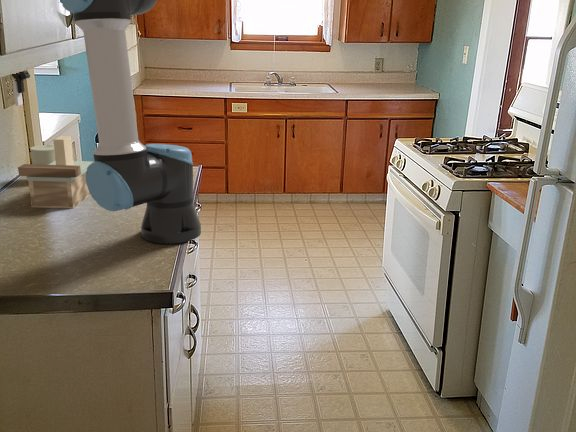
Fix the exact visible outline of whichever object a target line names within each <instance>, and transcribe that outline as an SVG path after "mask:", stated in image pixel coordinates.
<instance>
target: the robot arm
mask: <svg viewBox="0 0 576 432" xmlns="http://www.w3.org/2000/svg"><path fill="white" fill-rule="evenodd" d="M157 2H158V0H60V2H59V3H61V5H62V7H63V8H64V9H65V10H66V11H68V12H69V13H72V15H73V22H74V25H76V26H77V27H78V28H79V29H80V30H81V31H82V32H83V39H84V45H85V46H84V47H85V52H86V59H87V66H88V74H89V80H90V87H91V95H92V102H93V108H94V116H95V123H96V124H95V125H96V131H97V136H98V145H97V146H96V148H95V149H94V151H93V152H92V153H93V159H94V161H92V162H93V163H92V164H90V165H89V166H88V168H87V171H86V175H85V178H86V184H87V187H88V190H89V192H90V196H91V197H92V199H93V200H94V201H95V203H96V204H97V205H98V206H99V207H101V209H104V210H106V211H109V212H117V211H123V210H125V211H126V210H130V209H132V208H134V207H138V206H140V205H144V204H146V208H145V212H144V215H143V218H142V223H141V226H140V233H141V238H142V239H144V240H145V241H148V242H151V243H153V244H154V243H155V244H162V243H164V244H167V245H169V244H171V245H172V244H181V243H186V242H190V241H192V240H193V241H194V240H195V239H197V238H199V237H200V236H201V234H202V226H201V225H202V223H201V221H200V218H199V215H198V213H197V210H196V207H195V205H194V176H193V175H194V167H193V166H194V162H193V154H192V151H191V149H189V148H188V147H185V146H182V145H177V144H166V143H146V144H145V145H144V144H143V143H142V142H141V141H140V140H139V133H138V126H137V124H138V123H137V117H136V108H135V107H136V106H135V101H134V91H133V85H132V76H131V75H132V74H131V67H130V60H129V59H130V58H129V53H128V52H129V51H128V45H127V44H128V43H127V42H128V41H127V36H126V35H127V34H126V30H127V28H128V27H129V25H130V24H131V23H132V16H139V15H143V14H146V13H148V12H149V11H151V10H153V8H154V7H155V5H156V3H157ZM11 77H13V79H14V80H13V81H12V88H13V95H14V102H15V106H16V107H19V106H23V105H24V101H23V95H22V94H24V93H25V85H24V81H25V80H26V79H29V78H31V74H30V72H29V71H28V70H26V71H23V72H19V73H16V74H12V75H11ZM168 243H169V244H168Z"/></svg>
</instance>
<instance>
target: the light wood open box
mask: <svg viewBox="0 0 576 432" xmlns="http://www.w3.org/2000/svg"><path fill="white" fill-rule="evenodd" d="M85 175H86V172H85V173H84V174H82V175H81V176H79V177H78V178H76V179H75V180H73V181H72V182H57V181H28V189H29V195H30V205H31V208H42V209H43V208H46V209H47V208H51V209H75V207H77V206H79V205H80V203H82V202H83V201H84V200H85V199H87V198H88V197H89V196H91V194H90V192H89V190H88V187H87V184H86V178H85Z"/></svg>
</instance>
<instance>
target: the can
mask: <svg viewBox="0 0 576 432" xmlns="http://www.w3.org/2000/svg"><path fill="white" fill-rule="evenodd" d="M30 155H31V156H30V157H31V162H32V163H31V164H39V165H48V164H50V163H52V162H54V161H56V160H55V151H54V144H42V145H41V144H39V145H34V146H31V147H30Z"/></svg>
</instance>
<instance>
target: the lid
mask: <svg viewBox="0 0 576 432" xmlns="http://www.w3.org/2000/svg"><path fill="white" fill-rule="evenodd" d="M52 141H53V145H54V151H55V160H56V161H54V162H52V163H50V164H48V165H76V166H80V169H81V174H80V175H79V176H81V175H82V174H84V173H85V172H86V171H87V168H88V166H89V165H90V164H92V163H93V162H94V161H89V160H88V161H86V160H85V161H82V160H80V161H79V160H78V161H77V160H74V152H73V143H72V141H73V140H72V136H71V135H60V136H58V137H56V138H54V139H52ZM79 176H77V177H76V178H78V177H79ZM25 177H26V181H28V182H29V181H57V182H72V181H73V180H75V179H76V178H75V177H38V176H25Z"/></svg>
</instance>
